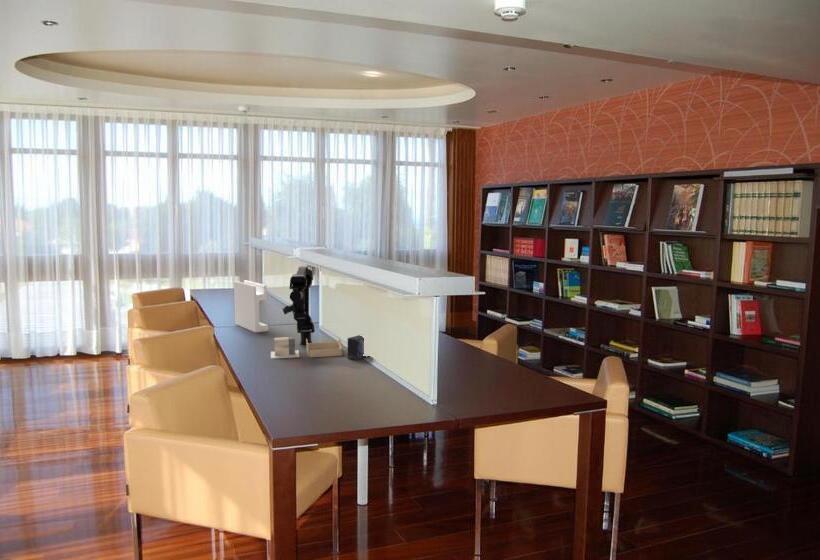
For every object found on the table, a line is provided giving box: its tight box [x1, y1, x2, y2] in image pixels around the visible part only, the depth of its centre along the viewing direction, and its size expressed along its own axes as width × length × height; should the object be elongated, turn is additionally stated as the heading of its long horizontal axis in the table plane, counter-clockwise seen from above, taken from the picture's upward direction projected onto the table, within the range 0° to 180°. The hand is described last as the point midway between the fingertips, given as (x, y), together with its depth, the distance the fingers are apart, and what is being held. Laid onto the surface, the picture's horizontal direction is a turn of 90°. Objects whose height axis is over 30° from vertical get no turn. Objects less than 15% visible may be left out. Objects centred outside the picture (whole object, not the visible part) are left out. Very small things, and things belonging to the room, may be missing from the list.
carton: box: [305, 337, 344, 358], centre depth 327 cm, size 17×17×6 cm
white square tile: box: [270, 349, 300, 360], centre depth 323 cm, size 14×14×1 cm
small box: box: [347, 334, 367, 361], centre depth 316 cm, size 11×6×10 cm, turn 143°
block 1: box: [233, 279, 269, 334], centre depth 396 cm, size 35×8×28 cm, turn 35°
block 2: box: [273, 336, 296, 356], centre depth 323 cm, size 5×10×8 cm, turn 102°
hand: (299, 329), depth 328 cm, fingers open, 9 cm apart
